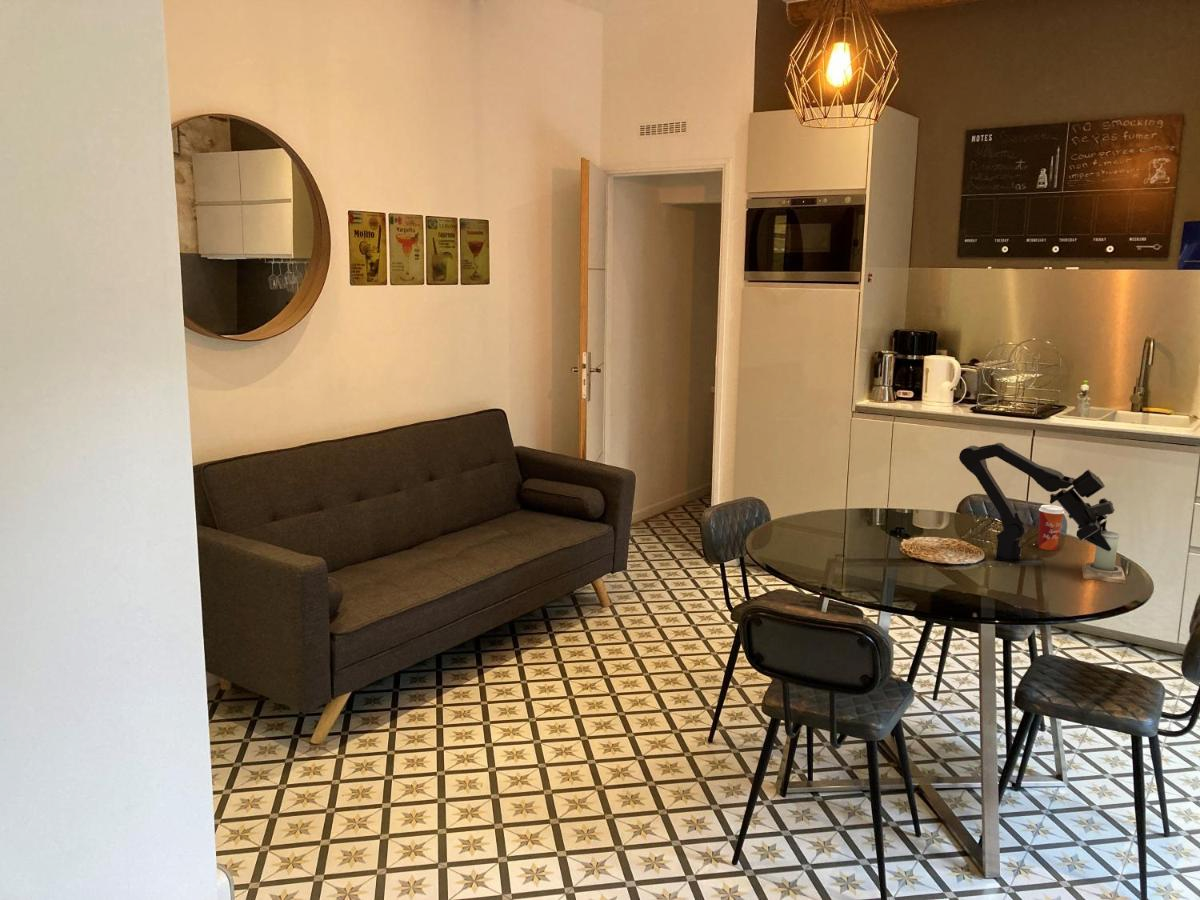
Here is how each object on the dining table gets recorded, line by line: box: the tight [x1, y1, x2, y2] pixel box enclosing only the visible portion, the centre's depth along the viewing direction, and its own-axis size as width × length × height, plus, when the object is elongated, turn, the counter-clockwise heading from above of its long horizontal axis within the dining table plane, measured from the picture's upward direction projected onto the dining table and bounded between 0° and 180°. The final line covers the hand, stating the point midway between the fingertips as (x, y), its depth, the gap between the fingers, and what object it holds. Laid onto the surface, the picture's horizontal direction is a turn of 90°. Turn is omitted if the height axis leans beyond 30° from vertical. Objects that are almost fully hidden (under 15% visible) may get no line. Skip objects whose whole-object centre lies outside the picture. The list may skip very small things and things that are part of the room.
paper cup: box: [1037, 504, 1065, 551], centre depth 311 cm, size 8×8×14 cm
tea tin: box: [1093, 530, 1120, 571], centre depth 283 cm, size 6×6×11 cm
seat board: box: [1081, 561, 1127, 585], centre depth 284 cm, size 11×11×3 cm
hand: (1111, 548), depth 282 cm, fingers closed on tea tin, 5 cm apart
